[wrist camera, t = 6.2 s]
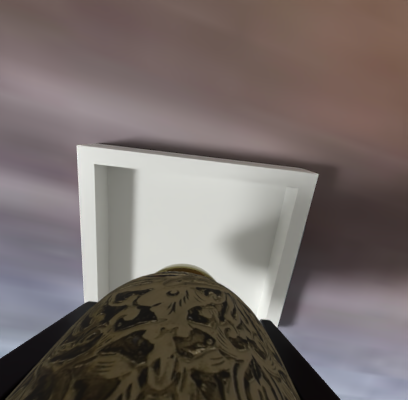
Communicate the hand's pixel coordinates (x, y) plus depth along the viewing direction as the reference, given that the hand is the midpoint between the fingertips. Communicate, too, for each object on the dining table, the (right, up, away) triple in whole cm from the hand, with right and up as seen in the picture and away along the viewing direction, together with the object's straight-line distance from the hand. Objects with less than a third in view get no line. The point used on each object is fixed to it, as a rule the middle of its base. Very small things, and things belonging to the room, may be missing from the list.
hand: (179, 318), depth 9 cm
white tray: (0, +2, +5) cm, 6 cm away
